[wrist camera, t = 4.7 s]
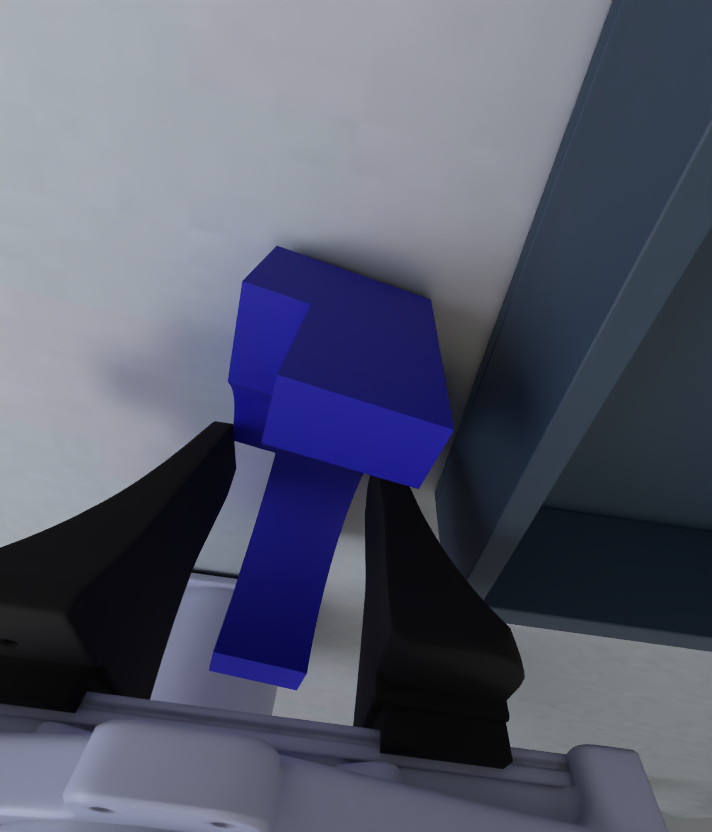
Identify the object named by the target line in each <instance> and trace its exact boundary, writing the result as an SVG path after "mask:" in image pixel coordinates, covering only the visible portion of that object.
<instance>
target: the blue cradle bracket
mask: <svg viewBox="0 0 712 832" xmlns="http://www.w3.org/2000/svg"><path fill="white" fill-rule="evenodd" d="M228 382H229V384H230V385H231V387H232V390H233V394H234V403H235V412H234V425H233V436H234V441H237V442H240V443H244V444H247V445H251V446H254V447H257V448H261V449H264V450H268V451H271V452H275V453H276V454H275V458H274V462H273V465H272V469H271V472H270V476H269V479H268V483H267V486H266V490H265V493H264V496H263V500H262V503H261V506H260V510H259V513H258V516H257V520H256V523H255V526H254V529H253V533H252V536H251V539H250V542H249V545H248V548H247V552H246V555H245V558H244V561H243V564H242V567H241V570H240V573H239V576H238V579H237V582H236V585H235V589H234V592H233V595H232V598H231V601H230V604H229V607H228V609H227V612H226V615H225V618H224V621H223V624H222V627H221V630H220V633H219V636H218V639H217V642H216V645H215V647H214V650H213V654H212V658H211V663H210V667H209V671H212V672H216V673H221V674H225V675H230V676H234V677H239V678H243V679H248V680H252V681H257V682H261V683H266V684H270V685H275V686H279V687H284V688H288V689H293V690H297V689H298V687H299V685H300V684H301V682H302V681H303V679H304V677H305V676H306V674H307V669H308V664H309V658H310V653H311V647H312V642H313V637H314V632H315V627H316V623H317V618H318V614H319V609H320V605H321V601H322V596H323V592H324V588H325V584H326V580H327V577H328V573H329V569H330V565H331V562H332V558H333V555H334V551H335V548H336V545H337V542H338V538H339V535H340V532H341V529H342V526H343V523H344V520H345V517H346V514H347V512H348V509H349V506H350V504H351V501H352V499H353V496H354V494H355V491H356V489H357V486H358V484H359V482H360V480H361V478H362V475H363V473H365V474H369V475H372V476H375V477H379V478H382V479H386V480H389V481H393V482H396V483H399V484H403V485H406V486H410V487H413V488H417V489H419V487H420V486H421V484H422V482H423V481H424V479H425V477H426V476H427V474H428V472H429V471H430V469H431V467H432V466H433V464H434V462H435V461H436V459H437V458H438V456H439V454H440V453H441V451H442V449H443V448H444V446H445V444H446V443H447V441H448V439H449V438H450V436H451V434H452V433H453V431H454V426H453V421H452V415H451V410H450V404H449V398H448V393H447V387H446V382H445V376H444V370H443V365H442V359H441V354H440V348H439V343H438V337H437V331H436V326H435V320H434V315H433V309H432V304H431V300H430V299H427V298H425V297H422V296H419V295H416V294H413V293H410V292H407V291H405V290H402V289H399V288H396V287H393V286H390V285H387V284H385V283H382V282H379V281H376V280H373V279H370V278H367V277H365V276H362V275H359V274H356V273H353V272H350V271H347V270H345V269H342V268H339V267H336V266H333V265H330V264H327V263H325V262H322V261H319V260H316V259H313V258H310V257H307V256H305V255H302V254H299V253H296V252H293V251H290V250H287V249H285V248H282V247H279V246H276V247H275V248H274V249H273V250H272V251H271V252H270V253H269V254H268V255H267V256H266V257H265V258H264V260H263V261H262V262H261V263H260V264H259V265H258V266H257V267H256V268H255V269H254V270H253V271H252V272H251V273H250V274H249V275H248V276H247V277H246V278H245V279H244V280H243V281H242V288H241V295H240V302H239V308H238V315H237V322H236V329H235V336H234V343H233V350H232V357H231V363H230V370H229V377H228Z"/></svg>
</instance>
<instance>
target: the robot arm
mask: <svg viewBox="0 0 712 832" xmlns="http://www.w3.org/2000/svg"><path fill="white" fill-rule="evenodd" d="M235 471H236V459H235V445H234V436H233V424H229V423H222V422H215V421H214V422H213V423H212V424H210V425H209V426H208V427H207V428H206V429H204V430H203V431H202V432H201V433H200V434H198V435H197V436H196V437H195V438H194V439H192V440H191V441H190V442H189V443H188V444H186V445H185V446H184V447H183V448H181V449H180V450H179V451H178V452H176V453H175V454H174V455H173V456H171V457H170V458H169V459H168V460H166V461H165V462H164V463H162V464H161V465H159V466H158V467H157V468H155V469H154V470H153V471H151V472H150V473H148V474H147V475H146V476H144V477H143V478H141V479H140V480H138V481H137V482H135V483H134V484H132V485H131V486H129V487H128V488H126V489H124V490H123V491H121V492H119V493H118V494H116V495H114V496H113V497H111V498H109V499H107V500H106V501H104V502H102V503H100V504H98V505H96V506H94V507H92V508H90V509H88V510H86V511H84V512H83V513H81V514H79V515H77V516H75V517H73V518H71V519H68V520H66V521H64V522H62V523H60V524H58V525H56V526H53V527H51V528H49V529H46V530H44V531H42V532H39V533H37V534H35V535H32V536H30V537H27V538H25V539H22V540H20V541H17V542H14V543H12V544H9V545H6V546H4V547H1V548H0V832H668V830H667V827H666V825H665V822H664V819H663V817H662V814H661V812H660V809H659V807H658V804H657V801H656V799H655V796H654V794H653V791H652V788H651V786H650V783H649V781H648V778H647V775H646V773H645V770H644V768H643V765H642V762H641V760H640V757H639V755H638V753H637V752H635V751H634V750H630V749H623V748H615V747H608V746H600V745H590V744H585V745H578V746H576V747H573V748H572V749H571V750H570V751H569V752H568V753H567V754H559V753H551V752H544V751H536V750H529V749H521V748H513V747H510V742H509V737H508V732H507V726H506V722H508V721H509V711H508V706H507V699H508V698H509V697H510V696H511V695H512V694H513V693H514V692H515V691H516V690H517V689H518V688H519V687H520V685H521V684H522V682H523V680H524V678H525V677H524V669H523V665H522V661H521V657H520V653H519V651H518V648H517V645H516V642H515V640H514V637H513V634H512V632H511V629H510V628H509V627H508V625H507V624H506V623H505V622H504V621H503V620H502V619H501V618H500V617H499V616H498V615H497V614H496V613H495V612H494V611H493V610H492V609H491V608H490V607H489V606H488V605H487V604H486V603H485V602H484V600H483V599H482V598H481V597H480V596H479V595H478V593H477V592H476V591H475V590H474V589H473V588H472V586H471V585H470V584H469V583H468V581H467V580H466V579H465V578H464V576H463V575H462V574H461V572H460V571H459V570H458V568H457V567H456V566H455V565H454V563H453V562H452V561H451V559H450V558H449V556H448V555H447V553H446V552H445V550H444V549H443V548H442V546H441V545H440V543H439V541H438V540H437V538H436V537H435V535H434V533H433V532H432V530H431V528H430V527H429V525H428V523H427V521H426V519H425V517H424V516H423V514H422V512H421V510H420V508H419V506H418V504H417V502H416V500H415V497H414V495H413V493H412V491H411V488H410V486H406V485H403V484H399V483H396V482H393V481H389V480H386V479H382V478H379V477H375V476H372V475H370V478H369V483H368V488H367V498H366V509H365V560H366V586H365V601H364V614H363V626H362V638H361V650H360V661H359V672H358V683H357V693H356V703H355V713H354V723H353V726H346V725H338V724H331V723H323V722H315V721H308V720H300V719H293V718H285V717H277V716H272V711H273V706H274V701H275V696H276V691H277V686H275V685H270V684H266V683H261V682H257V681H252V680H248V679H243V678H239V677H234V676H230V675H225V674H221V673H216V672H212V671H209V667H210V663H211V658H212V654H213V650H214V647H215V645H216V642H217V639H218V636H219V633H220V630H221V627H222V624H223V621H224V618H225V615H226V612H227V609H228V607H229V604H230V601H231V598H232V595H233V592H234V589H235V585H236V582H237V579H234V578H227V577H219V576H212V575H205V574H198V573H192V570H193V567H194V565H195V563H196V560H197V558H198V556H199V553H200V551H201V549H202V547H203V545H204V543H205V541H206V539H207V537H208V535H209V533H210V531H211V529H212V527H213V525H214V522H215V520H216V518H217V516H218V514H219V512H220V510H221V508H222V506H223V504H224V502H225V499H226V497H227V495H228V492H229V489H230V486H231V483H232V480H233V477H234V474H235Z"/></svg>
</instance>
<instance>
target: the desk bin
mask: <svg viewBox="0 0 712 832" xmlns="http://www.w3.org/2000/svg"><path fill="white" fill-rule="evenodd" d="M435 501H436V512H437V521H438V530H439V539H440V545H441V546H442V548H443V549H444V550H445V552H446V553H447V555H448V556H449V558H450V559H451V561H452V562H453V563H454V565H455V566H456V567H457V568H458V570H459V571H460V572H461V574H462V575H463V576H464V578H465V579H466V580H467V581H468V583H469V584H470V585H471V586H472V588H473V589H474V590H475V591H476V592H477V593H478V595H479V596H480V597H481V598H482V599H483V600H484V602H485V603H486V604H487V605H488V606H489V607H490V608H491V609H492V610H493V611H494V612H495V613H496V614H497V615H498V616H499V617H500V618H501V619H502V620H503V621H504V622H505V623H508V624H515V625H522V626H530V627H537V628H544V629H551V630H559V631H566V632H573V633H580V634H587V635H595V636H602V637H609V638H616V639H624V640H631V641H638V642H645V643H653V644H660V645H667V646H674V647H682V648H689V649H696V650H703V651H711V652H712V0H613V2H612V5H611V7H610V10H609V13H608V16H607V18H606V21H605V24H604V27H603V29H602V32H601V35H600V38H599V41H598V43H597V46H596V49H595V52H594V54H593V57H592V60H591V63H590V65H589V68H588V71H587V74H586V77H585V79H584V82H583V85H582V88H581V90H580V93H579V96H578V99H577V101H576V104H575V107H574V110H573V113H572V115H571V118H570V121H569V124H568V126H567V129H566V132H565V135H564V137H563V140H562V143H561V146H560V148H559V151H558V154H557V157H556V160H555V162H554V165H553V168H552V171H551V173H550V176H549V179H548V182H547V184H546V187H545V190H544V193H543V196H542V198H541V201H540V204H539V207H538V209H537V212H536V215H535V218H534V220H533V223H532V226H531V229H530V232H529V234H528V237H527V240H526V243H525V245H524V248H523V251H522V254H521V256H520V259H519V262H518V265H517V268H516V270H515V273H514V276H513V279H512V281H511V284H510V287H509V290H508V292H507V295H506V298H505V301H504V304H503V306H502V309H501V312H500V315H499V317H498V320H497V323H496V326H495V328H494V331H493V334H492V337H491V340H490V342H489V345H488V348H487V351H486V353H485V356H484V359H483V362H482V364H481V367H480V370H479V373H478V376H477V378H476V381H475V384H474V387H473V389H472V392H471V395H470V398H469V400H468V403H467V406H466V409H465V412H464V414H463V417H462V420H461V423H460V425H459V428H458V431H457V434H456V436H455V439H454V442H453V445H452V448H451V450H450V453H449V456H448V459H447V461H446V464H445V467H444V470H443V472H442V475H441V478H440V481H439V483H438V486H437V489H436V492H435Z"/></svg>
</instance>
